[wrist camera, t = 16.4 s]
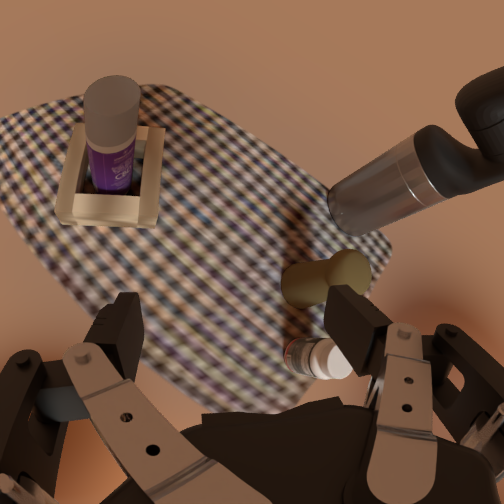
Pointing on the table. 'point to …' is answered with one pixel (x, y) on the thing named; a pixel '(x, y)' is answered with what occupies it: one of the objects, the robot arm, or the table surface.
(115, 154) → the container
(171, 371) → the table surface
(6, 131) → the table surface
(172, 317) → the table surface
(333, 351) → the pill bottle
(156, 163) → the square holder
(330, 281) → the olive pepper mill
